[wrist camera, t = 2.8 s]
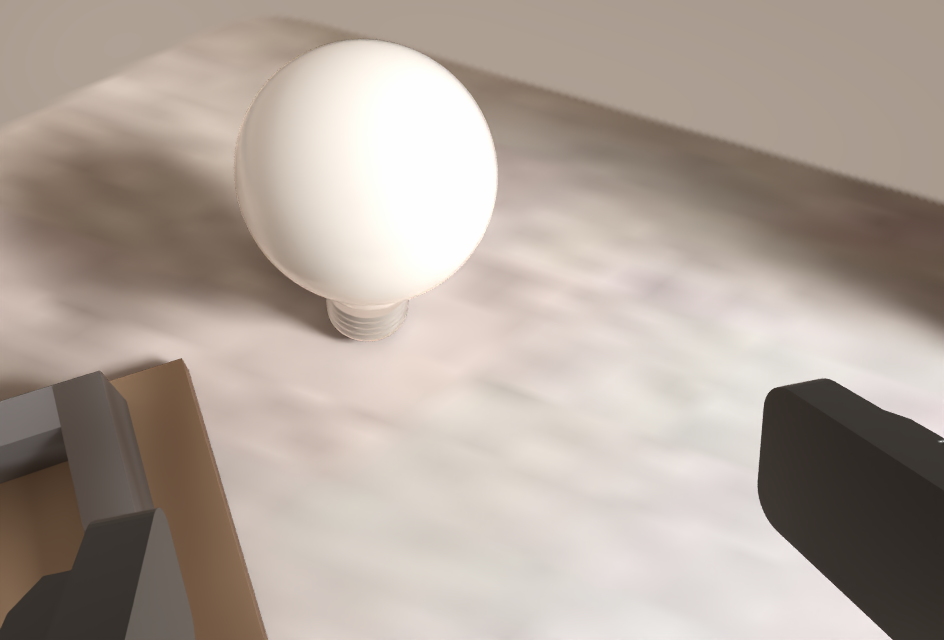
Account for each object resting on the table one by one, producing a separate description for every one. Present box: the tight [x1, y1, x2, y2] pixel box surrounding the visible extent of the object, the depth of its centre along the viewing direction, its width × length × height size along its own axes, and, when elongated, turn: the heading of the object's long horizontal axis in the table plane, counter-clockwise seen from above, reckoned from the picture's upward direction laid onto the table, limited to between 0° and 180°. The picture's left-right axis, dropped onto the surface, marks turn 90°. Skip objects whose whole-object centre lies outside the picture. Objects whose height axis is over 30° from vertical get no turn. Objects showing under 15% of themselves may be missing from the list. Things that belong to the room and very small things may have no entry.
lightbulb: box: [234, 39, 498, 342], centre depth 20 cm, size 6×6×11 cm
